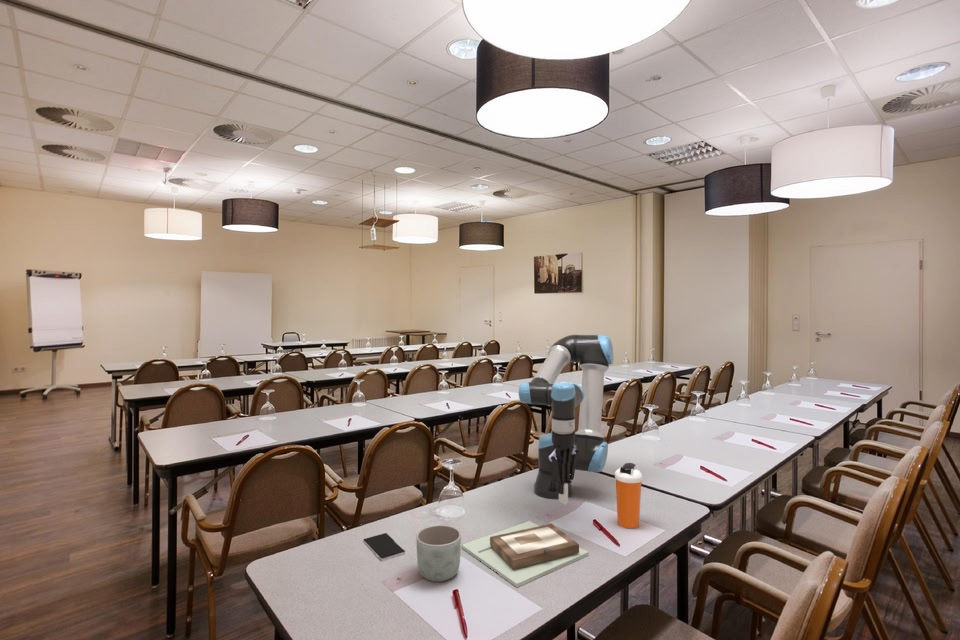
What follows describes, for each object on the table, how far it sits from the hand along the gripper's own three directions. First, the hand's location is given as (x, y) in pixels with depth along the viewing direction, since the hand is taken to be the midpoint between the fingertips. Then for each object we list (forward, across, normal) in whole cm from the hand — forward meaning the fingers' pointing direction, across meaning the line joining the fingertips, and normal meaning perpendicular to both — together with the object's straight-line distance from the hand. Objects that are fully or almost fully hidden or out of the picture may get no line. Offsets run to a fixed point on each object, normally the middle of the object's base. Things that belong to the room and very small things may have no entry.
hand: (563, 502), depth 157 cm
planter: (+10, -46, +4) cm, 47 cm away
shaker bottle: (+10, +22, -9) cm, 26 cm away
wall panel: (+10, -18, -1) cm, 21 cm away
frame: (+8, -17, -4) cm, 20 cm away
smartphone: (+10, -51, +27) cm, 59 cm away
